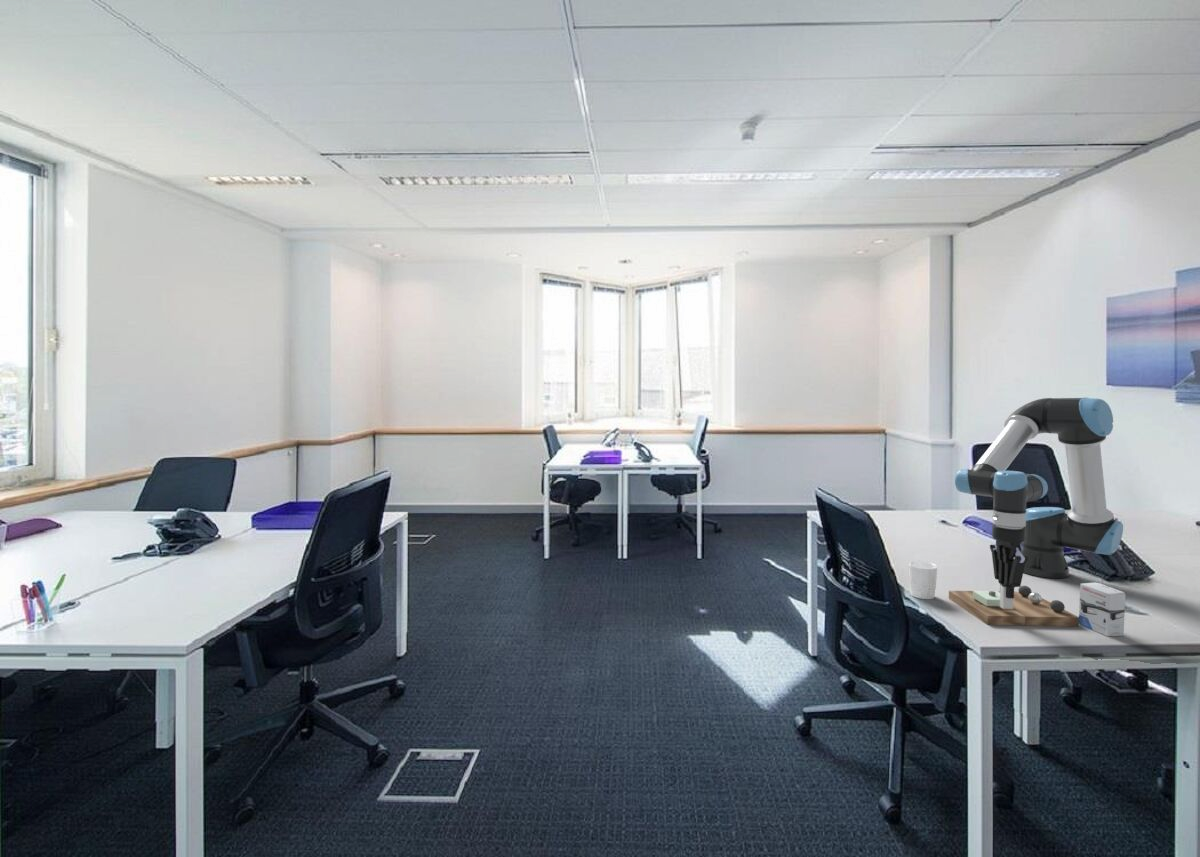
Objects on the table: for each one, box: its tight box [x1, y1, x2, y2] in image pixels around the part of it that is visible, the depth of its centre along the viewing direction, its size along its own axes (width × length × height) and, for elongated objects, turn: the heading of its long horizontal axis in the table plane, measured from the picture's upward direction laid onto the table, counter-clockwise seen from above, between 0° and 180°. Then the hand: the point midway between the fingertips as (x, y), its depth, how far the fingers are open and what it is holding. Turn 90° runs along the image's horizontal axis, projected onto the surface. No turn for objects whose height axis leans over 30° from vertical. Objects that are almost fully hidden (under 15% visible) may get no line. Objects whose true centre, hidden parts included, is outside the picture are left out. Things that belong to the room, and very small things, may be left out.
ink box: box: [1078, 582, 1126, 637], centre depth 151 cm, size 8×5×12 cm, turn 5°
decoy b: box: [1050, 599, 1066, 612], centre depth 157 cm, size 3×3×3 cm
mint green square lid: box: [972, 590, 1000, 606], centre depth 164 cm, size 7×7×3 cm
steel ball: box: [1028, 592, 1043, 604], centre depth 163 cm, size 3×3×3 cm
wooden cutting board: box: [948, 590, 1080, 627], centre depth 164 cm, size 24×20×2 cm
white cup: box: [908, 561, 938, 600], centre depth 178 cm, size 8×8×10 cm
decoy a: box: [1017, 585, 1033, 597], centre depth 169 cm, size 3×3×3 cm
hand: (1006, 607), depth 158 cm, fingers closed
